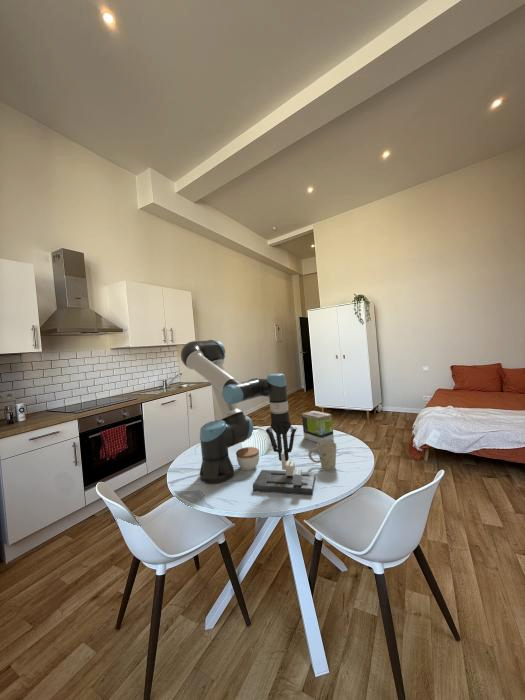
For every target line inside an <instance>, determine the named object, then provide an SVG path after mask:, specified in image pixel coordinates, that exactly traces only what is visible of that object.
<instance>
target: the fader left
mask: <svg viewBox="0 0 525 700" xmlns="http://www.w3.org/2000/svg"><path fill="white" fill-rule="evenodd" d="M285 468H286V470H285V471H286V476H293V472H294V470H296V467H295V461H287V463H286V465H285Z"/></svg>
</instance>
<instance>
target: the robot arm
mask: <svg viewBox="0 0 525 700" xmlns="http://www.w3.org/2000/svg"><path fill="white" fill-rule="evenodd" d="M225 358H226V349H225V346H224V345H223V343H222V342H221V341H219V340H216V339H215V340H214V339H207V340H197V341H196V340H193V341H189V342H187V343H186V344H184V345H183V347H182V349H181V350H180V361H181V362H182V363H183V364H184V366H185V367H187V368H188V369H189V370H191V371H192V370H193V371H195V372H196V373H198V375H200V376H201V377H203V378H204V379H205V380H206V381H208V382H209V383H210V385H211V387H212V390H213V394H214V397H215V399H216V401H217V404H218V408H219V410H220V414H221V416H220V419H216V420H211V421H208V422H206V423H205V424H203V425H202V426H201V427H200V430H199V440H200V449H201V450H200V451H201V456H202V457H201V458H202V461H201V466H200V469H199V470H200V471H199V480H200V482H202V483H204V484H209V485H210V484H212V485H213V484H218V483H219V484H220V483H224V482H226V481H229V480H230V479H231V478H233V476H234V475H235V469H234V466H233V463H232V461H231V459H230V457H229V448H232V447H234V446H236V445H238V444H241V443H243V442H245V441H247V440H249V439H250V438H251V437H252V434H253V432H254V424H253V421H252V419H251V418H250V417H249V416H248V415H246V414H244V412H243V410H242V409H240V408H239V406H238V404H239V403H242V402H245V401H248V400H252V399H256V398H259V397H268V399H269V409H270V421H271V422H270V426H269V427H267V428H266V429H265V432H266V433H267V435H268V438H269V441H270V443H271V447H272V450H273V452H274V453H277V454H278V460H279V462H281V468H282V469H281V471H286V468H285V465H286V463H287V462H289V460H290V459H289V458H290V457H289V453H291V452H292V451H293V447H294V441H295V435H296V432H297V430H298V428H297V427H296V426H293V425H292V423H291V419H290V412H289V401H288V400H289V399H288V392H287V391H288V388H287V380H286V376H285V375H286V374H284V373H270V374H268V375H267V376H266V377H267V378H250V379H248V380H246V381H238V379H236V378H234V377H233V376H232V375H230V374H229V373H227V371H225V368H224V363H225ZM289 432H290V437H289V438H290V439H289V443H288V433H289ZM274 433H275V435H274ZM275 437H276V438H275ZM282 442H283V444H282Z"/></svg>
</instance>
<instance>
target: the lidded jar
mask: <svg viewBox="0 0 525 700" xmlns="http://www.w3.org/2000/svg"><path fill="white" fill-rule="evenodd" d="M235 455H236V461H237V464H238V466H239V467H240V469H242V470H243V471H253V470H254V469H256V467H257V466H258V464H259V462H260V450H259V448H258V447H255V446H248V447H243V448H240V449H238V450H236V452H235Z"/></svg>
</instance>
